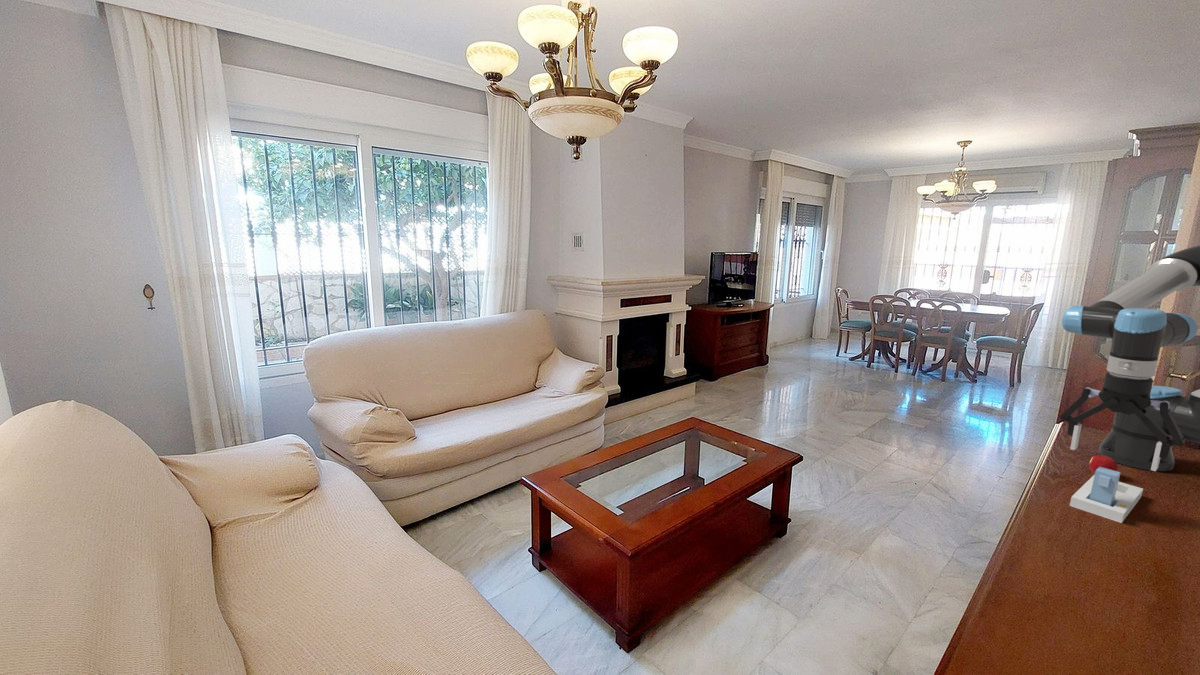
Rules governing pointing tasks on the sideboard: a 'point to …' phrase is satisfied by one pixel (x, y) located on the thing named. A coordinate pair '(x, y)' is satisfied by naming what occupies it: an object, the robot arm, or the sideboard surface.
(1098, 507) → the panel
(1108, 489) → the plug
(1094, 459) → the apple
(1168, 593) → the sideboard surface
